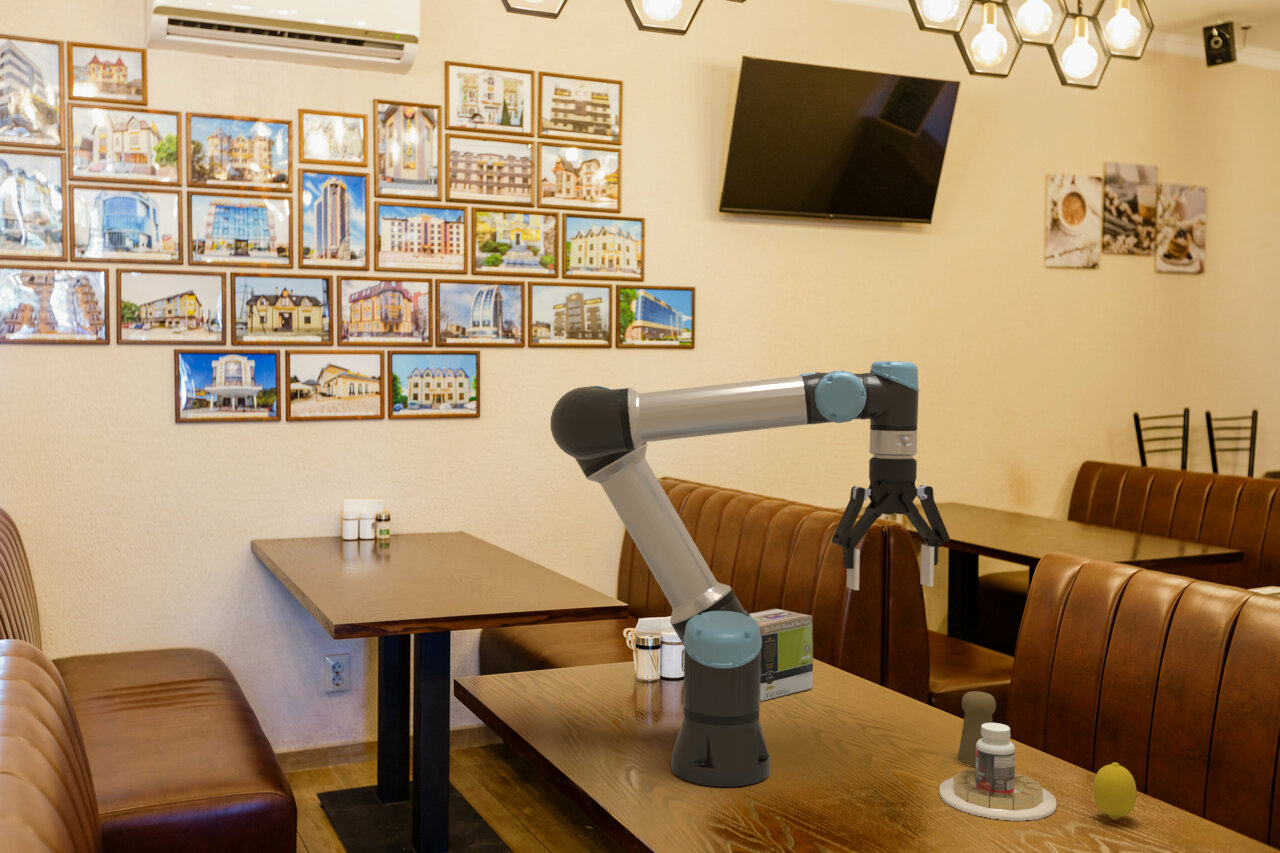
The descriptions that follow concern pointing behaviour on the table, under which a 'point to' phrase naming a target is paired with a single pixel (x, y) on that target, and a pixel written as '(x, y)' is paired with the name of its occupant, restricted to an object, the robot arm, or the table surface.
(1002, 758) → the pill bottle
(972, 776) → the collar
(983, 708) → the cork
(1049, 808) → the coaster
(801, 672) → the tea box
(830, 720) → the table surface
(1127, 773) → the lemon
